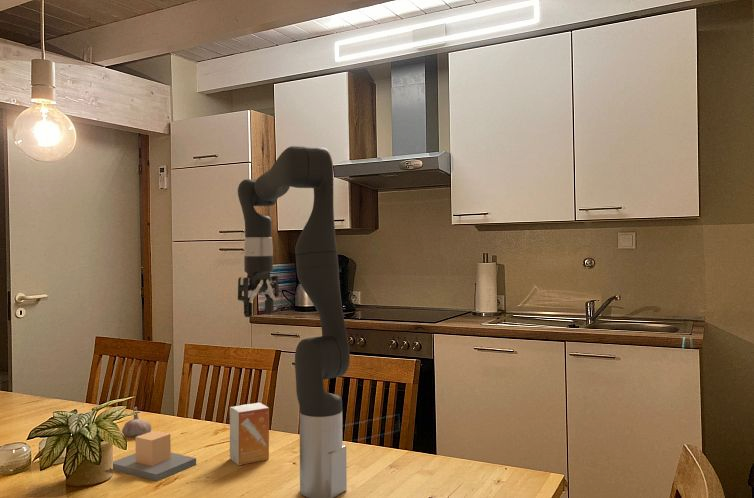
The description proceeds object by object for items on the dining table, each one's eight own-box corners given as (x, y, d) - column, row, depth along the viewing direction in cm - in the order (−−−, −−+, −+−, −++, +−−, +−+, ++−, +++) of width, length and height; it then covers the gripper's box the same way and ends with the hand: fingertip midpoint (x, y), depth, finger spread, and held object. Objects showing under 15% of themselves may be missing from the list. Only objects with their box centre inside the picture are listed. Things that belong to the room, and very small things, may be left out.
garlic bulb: (116, 437, 170) (116, 408, 170) (138, 430, 177) (138, 402, 177) (135, 441, 167) (134, 411, 166) (156, 433, 173) (156, 405, 173)
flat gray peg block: (196, 464, 148) (195, 439, 148) (156, 481, 138) (156, 454, 138) (150, 453, 156) (150, 430, 156) (109, 468, 145) (109, 443, 145)
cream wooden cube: (170, 458, 148) (170, 433, 148) (151, 466, 143) (151, 440, 143) (154, 454, 151) (154, 430, 151) (135, 462, 146) (135, 436, 146)
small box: (238, 466, 147) (238, 412, 147) (229, 458, 152) (229, 406, 152) (269, 459, 151) (269, 407, 151) (259, 452, 157) (259, 401, 157)
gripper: (252, 255, 155) (253, 319, 155) (286, 254, 167) (286, 313, 167) (229, 255, 158) (230, 317, 158) (264, 254, 171) (264, 312, 171)
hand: (259, 315), depth 163 cm, fingers open, 8 cm apart
